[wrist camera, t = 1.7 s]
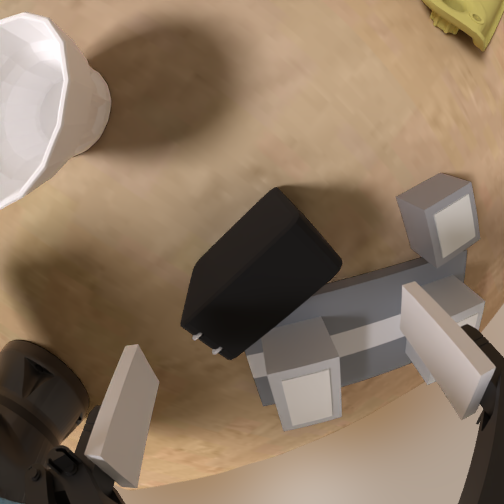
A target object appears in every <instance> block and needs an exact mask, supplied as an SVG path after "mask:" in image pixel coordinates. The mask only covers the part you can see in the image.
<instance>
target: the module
mask: <svg viewBox="0 0 504 504" xmlns="http://www.w3.org/2000/svg"><path fill="white" fill-rule="evenodd" d="M396 199H397V202H398V205H399V209H400V212H401V215H402V218H403V222H404V225H405V228H406V232H407V236H408V239H409V243H410V247H411V249H412V250H413V251H415V252H416V253H417V254H419V255H420V256H421V257H423V258H424V259H425V260H427V261H428V262H429V263H431V264H432V265H433V266H434V267H436V268H439V267H440V266H442V265H443V264H445V263H446V262H448V261H449V260H451V259H452V258H454V257H455V256H457V255H458V254H460V253H461V252H463V251H464V250H465V249H467V248H468V247H470V246H471V245H473V244H474V243H475V242H477V241H478V240H479V239H480V232H479V224H478V217H477V211H476V205H475V199H474V194H473V189H472V184H471V182H469V181H466V180H463V179H460V178H457V177H453V176H450V175H447V174H443V173H438V174H437V175H435V176H433V177H431V178H429V179H428V180H426V181H424V182H422V183H420V184H418V185H417V186H415V187H413V188H411V189H409V190H407V191H406V192H404V193H402V194H400V195H398V196H396Z"/></svg>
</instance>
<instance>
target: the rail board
mask: <svg viewBox="0 0 504 504" xmlns="http://www.w3.org/2000/svg"><path fill="white" fill-rule="evenodd" d="M466 258H467V250H466V249H465V250H464V251H463V252H461V253H460V254H458V255H457V256H455V257H454V258H452V259H451V260H449V261H448V262H446V263H445V264H443V265H442V266H440V267H439V268H436V267H434V266H433V265H432V264H431V263H429V262H428V261H427V260H425V259H424V258H423V257H421V258H417V259H414V260H411V261H407V262H404V263H401V264H397V265H394V266H390V267H387V268H383V269H380V270H376V271H373V272H369V273H365V274H362V275H358V276H354V277H351V278H347V279H343V280H340V281H336V282H332V283H328V284H325V285H324V286H323V287H322V288H320V289H319V290H318V291H317V292H316V293H315V294H314V295H312V296H311V297H310V298H309V299H308V300H307V301H305V302H304V303H303V304H302V305H301V306H299V307H298V308H297V309H296V310H295V311H293V312H292V313H291V314H290V315H289V316H287V317H286V318H285V319H284V320H283V321H281V322H280V323H279V324H278V325H277V326H275V327H274V328H273V329H272V330H270V331H269V332H268V333H267V334H265V335H264V336H263V337H262V338H260V339H259V340H258V341H257V342H255V343H254V344H253V345H251V346H250V347H249V348H248V349H246V350H245V353H246V357H247V360H248V363H249V366H250V369H251V372H252V375H253V378H254V381H255V384H256V387H257V390H258V392H259V395H260V398H261V401H262V404H263V406H267V405H272V404H276V407H277V411H278V414H279V418H280V421H281V424H282V428H283V431H288V430H293V429H297V428H302V427H306V426H310V425H314V424H318V423H322V422H325V421H329V420H333V419H336V418H339V417H342V403H341V387H344V386H347V385H350V384H353V383H357V382H360V381H363V380H366V379H369V378H372V377H375V376H378V375H380V374H383V373H386V372H389V371H392V370H394V369H397V368H400V367H402V366H405V365H407V364H410V363H413V364H414V366H415V367H416V369H417V370H418V372H419V373H420V375H421V376H422V378H423V379H424V381H425V382H426V383H427V385H429V384H431V383H433V382H436V380H435V379H434V377H433V376H432V374H431V373H430V371H429V370H428V368H427V367H426V365H425V364H424V362H423V361H422V360H421V358H420V357H419V355H418V354H417V352H416V351H415V350H414V348H413V347H412V345H411V344H410V342H409V341H408V340H407V338H406V337H405V336H404V334H403V333H402V331H401V330H400V320H401V302H402V285H404V284H408V283H411V282H414V281H415V282H416V283H417V284H418V285H419V286H420V287H422V288H423V289H424V290H425V291H426V292H427V293H428V294H429V295H430V296H431V297H432V298H433V299H434V300H435V301H436V302H437V303H438V304H439V305H440V306H441V307H442V308H443V309H444V310H445V312H446V313H447V314H448V315H449V316H450V317H451V318H452V319H453V320H454V321H455V322H456V323H457V324H458V325H459V326H460V327H461V326H463V325H465V324H468V325H470V326H472V327H474V328H476V329H477V330H478V331H479V327H480V323H481V319H482V314H483V310H484V305H485V300H484V299H482V298H481V297H480V296H479V295H478V294H476V293H475V292H474V291H473V290H471V289H470V288H469V287H468V286H467V285H465V284H464V277H465V268H466Z"/></svg>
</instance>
